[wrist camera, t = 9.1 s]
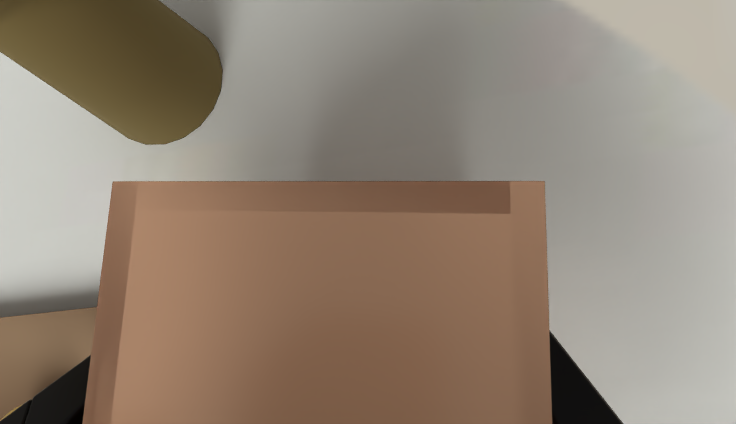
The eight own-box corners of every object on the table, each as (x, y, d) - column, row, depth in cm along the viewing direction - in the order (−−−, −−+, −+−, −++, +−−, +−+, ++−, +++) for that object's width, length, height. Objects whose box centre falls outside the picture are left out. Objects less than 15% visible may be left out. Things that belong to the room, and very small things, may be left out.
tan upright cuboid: (478, 451, 14) (562, 746, 5) (273, 433, 15) (53, 652, 6) (477, 237, 15) (544, 181, 6) (285, 233, 16) (112, 181, 7)
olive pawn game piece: (89, 135, 20) (-317, -30, 9) (121, 17, 21) (-218, -266, 10) (205, 153, 19) (-96, -9, 8) (235, 29, 20) (-3, -274, 9)
